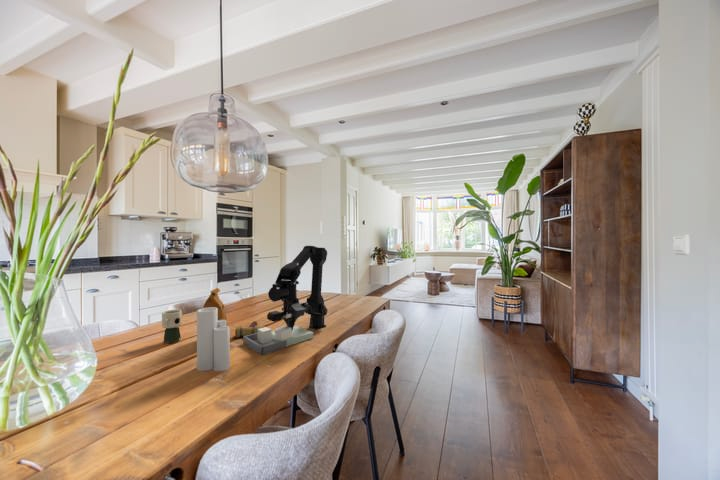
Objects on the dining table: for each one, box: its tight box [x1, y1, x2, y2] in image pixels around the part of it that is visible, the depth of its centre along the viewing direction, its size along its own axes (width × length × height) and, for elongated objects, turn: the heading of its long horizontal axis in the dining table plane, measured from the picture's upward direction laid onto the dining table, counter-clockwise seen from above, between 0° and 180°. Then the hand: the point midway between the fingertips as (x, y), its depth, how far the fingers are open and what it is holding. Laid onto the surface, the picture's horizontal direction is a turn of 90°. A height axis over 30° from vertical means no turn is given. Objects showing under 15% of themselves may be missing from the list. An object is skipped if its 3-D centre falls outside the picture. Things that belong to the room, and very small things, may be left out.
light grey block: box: [274, 324, 292, 341], centre depth 123 cm, size 5×5×4 cm
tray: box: [242, 333, 288, 356], centre depth 121 cm, size 11×17×3 cm, turn 44°
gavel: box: [234, 320, 261, 338], centre depth 141 cm, size 21×5×10 cm
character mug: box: [161, 309, 183, 344], centre depth 126 cm, size 11×7×13 cm, turn 9°
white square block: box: [258, 326, 272, 343], centre depth 125 cm, size 5×5×4 cm
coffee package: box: [202, 287, 227, 324], centre depth 128 cm, size 10×12×22 cm
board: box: [272, 325, 314, 347], centre depth 130 cm, size 14×14×2 cm
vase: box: [196, 307, 231, 372], centre depth 102 cm, size 11×7×20 cm, turn 89°
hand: (290, 332), depth 125 cm, fingers closed
